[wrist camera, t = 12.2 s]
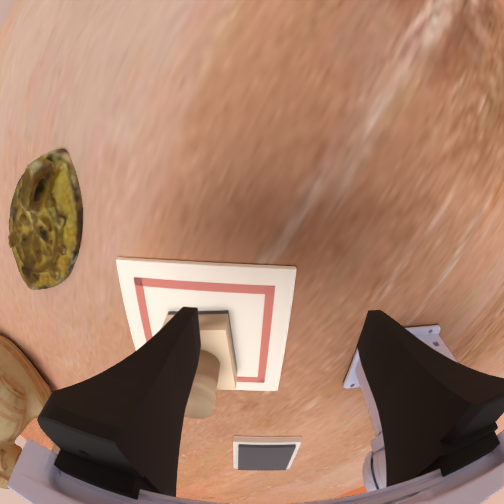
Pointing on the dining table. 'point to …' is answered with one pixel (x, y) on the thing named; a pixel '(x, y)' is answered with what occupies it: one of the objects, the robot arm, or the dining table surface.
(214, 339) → the stamp
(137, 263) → the board
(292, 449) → the ink pad
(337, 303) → the dining table surface
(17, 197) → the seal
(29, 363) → the ceramic vessel
